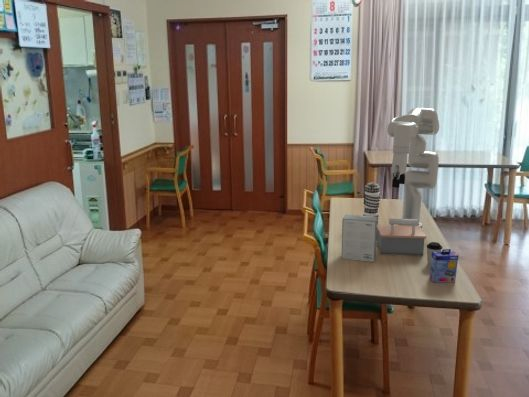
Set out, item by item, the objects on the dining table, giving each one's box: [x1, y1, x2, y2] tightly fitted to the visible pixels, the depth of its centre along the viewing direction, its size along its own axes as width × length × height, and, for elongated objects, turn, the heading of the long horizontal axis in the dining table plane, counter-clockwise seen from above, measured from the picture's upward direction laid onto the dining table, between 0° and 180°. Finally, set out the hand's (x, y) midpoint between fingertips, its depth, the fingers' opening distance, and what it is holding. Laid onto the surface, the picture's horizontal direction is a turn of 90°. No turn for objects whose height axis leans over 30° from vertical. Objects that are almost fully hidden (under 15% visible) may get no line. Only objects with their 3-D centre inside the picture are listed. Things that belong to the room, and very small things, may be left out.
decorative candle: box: [362, 182, 381, 225], centre depth 283 cm, size 9×9×25 cm
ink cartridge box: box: [429, 248, 459, 283], centre depth 214 cm, size 10×6×14 cm, turn 95°
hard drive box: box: [341, 214, 377, 263], centre depth 238 cm, size 16×8×20 cm, turn 71°
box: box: [376, 229, 426, 257], centre depth 250 cm, size 15×20×9 cm
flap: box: [377, 218, 427, 239], centre depth 247 cm, size 16×21×8 cm
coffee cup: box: [426, 241, 443, 267], centre depth 231 cm, size 7×7×10 cm
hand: (398, 185), depth 244 cm, fingers open, 9 cm apart
